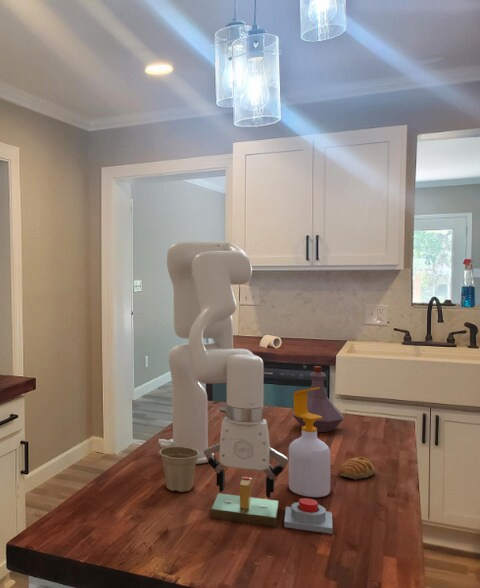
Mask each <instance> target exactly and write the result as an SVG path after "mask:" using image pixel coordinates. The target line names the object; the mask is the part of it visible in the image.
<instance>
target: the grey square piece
mask: <svg viewBox="0 0 480 588" xmlns="http://www.w3.org/2000/svg"><path fill="white" fill-rule="evenodd" d="M283 519H284V520H283V527H284V528H287V529H294V530H295V529H296V530H301V531H310V532H316V533H323V534H329V535H333V530H334V528H333V513H332V512H331V511H327V510H326V508H325V507H324V506H323V505H320V504H318V511H317V512H305V511H302V510H300V509H299V501H297V502H293V503H292V504H291V506H285V513H284V518H283Z"/></svg>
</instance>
